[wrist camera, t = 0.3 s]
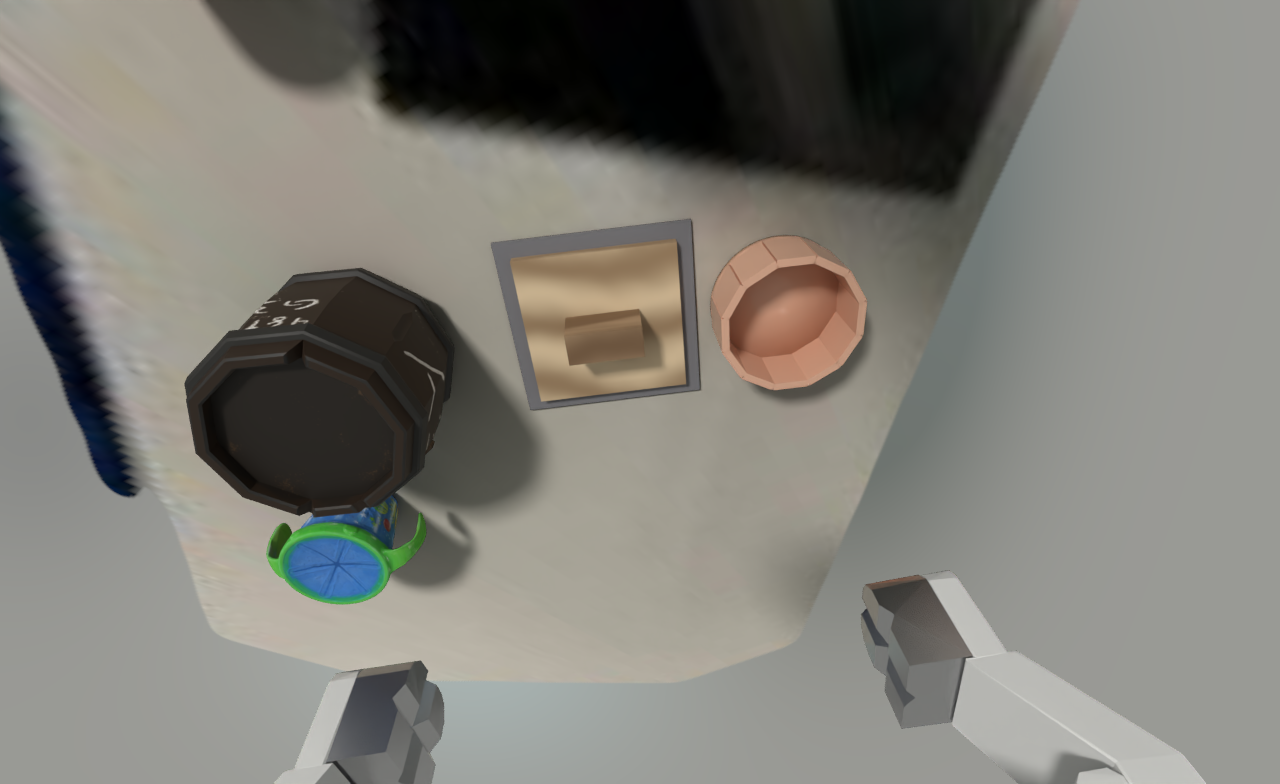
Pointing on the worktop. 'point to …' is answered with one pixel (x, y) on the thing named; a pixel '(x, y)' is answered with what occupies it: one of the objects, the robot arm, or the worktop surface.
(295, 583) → the snack cup
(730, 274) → the bowl
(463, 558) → the worktop surface
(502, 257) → the mat
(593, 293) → the lid
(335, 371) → the barrel
